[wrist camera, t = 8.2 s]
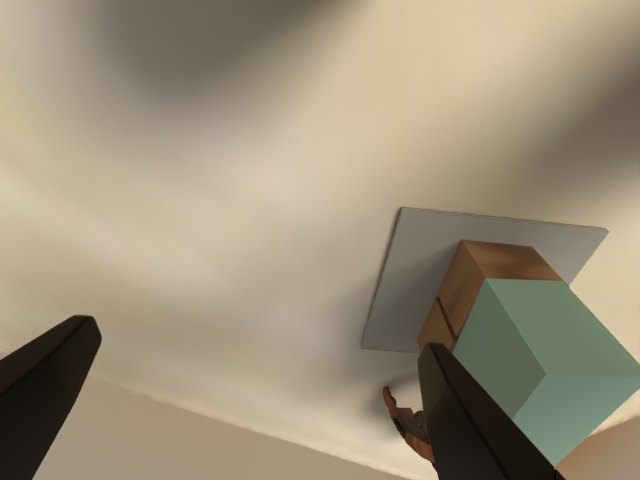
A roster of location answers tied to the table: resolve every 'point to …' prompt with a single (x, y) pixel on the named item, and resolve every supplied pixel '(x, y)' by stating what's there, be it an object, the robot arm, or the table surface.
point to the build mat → (437, 254)
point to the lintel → (545, 361)
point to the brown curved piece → (410, 427)
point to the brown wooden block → (437, 328)
